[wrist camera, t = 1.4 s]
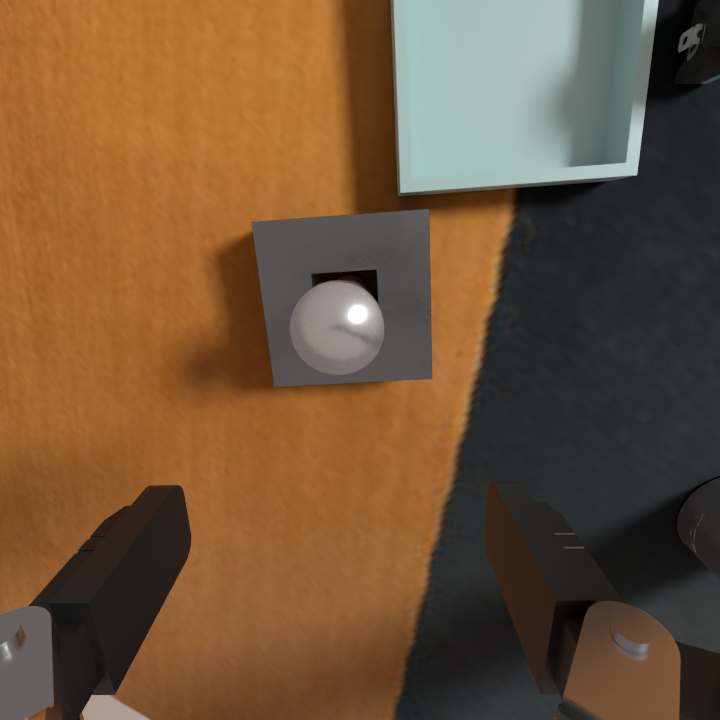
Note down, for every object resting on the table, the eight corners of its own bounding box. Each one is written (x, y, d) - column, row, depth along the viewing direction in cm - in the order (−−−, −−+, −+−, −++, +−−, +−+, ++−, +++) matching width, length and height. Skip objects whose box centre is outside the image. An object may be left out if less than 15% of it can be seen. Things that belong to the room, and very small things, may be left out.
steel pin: (378, 261, 33) (381, 279, 21) (381, 322, 34) (386, 372, 22) (316, 265, 33) (284, 285, 21) (322, 326, 34) (295, 377, 23)
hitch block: (421, 211, 31) (429, 208, 27) (424, 360, 35) (432, 378, 31) (267, 223, 32) (251, 222, 28) (286, 368, 36) (274, 387, 31)
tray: (636, -88, 26) (675, -135, 22) (607, 181, 30) (636, 175, 27) (387, -61, 27) (390, -103, 23) (397, 197, 31) (400, 192, 28)
